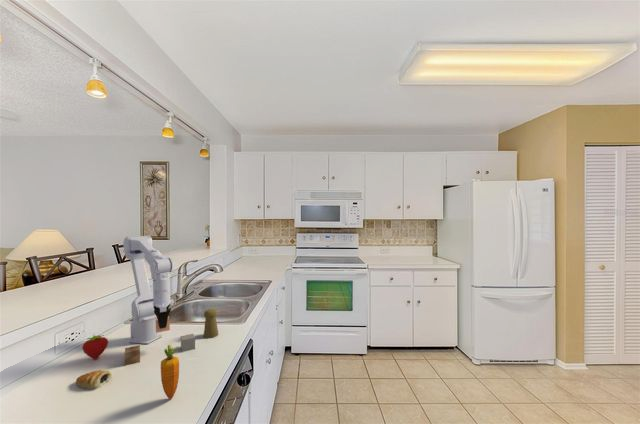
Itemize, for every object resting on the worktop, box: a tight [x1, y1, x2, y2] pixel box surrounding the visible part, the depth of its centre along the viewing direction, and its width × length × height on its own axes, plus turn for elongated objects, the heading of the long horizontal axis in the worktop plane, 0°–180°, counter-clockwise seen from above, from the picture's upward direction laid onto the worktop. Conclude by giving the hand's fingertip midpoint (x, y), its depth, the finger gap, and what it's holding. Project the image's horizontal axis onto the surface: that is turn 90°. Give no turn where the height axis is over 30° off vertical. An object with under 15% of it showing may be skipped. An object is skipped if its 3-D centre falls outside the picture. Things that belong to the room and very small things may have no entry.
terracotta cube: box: [155, 315, 171, 334], centre depth 113 cm, size 4×4×4 cm
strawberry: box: [82, 333, 109, 360], centre depth 107 cm, size 6×8×10 cm
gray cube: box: [180, 333, 196, 353], centre depth 114 cm, size 4×4×4 cm
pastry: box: [75, 369, 113, 390], centre depth 92 cm, size 9×7×4 cm
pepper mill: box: [203, 308, 219, 339], centre depth 126 cm, size 6×6×11 cm
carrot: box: [160, 344, 180, 400], centre depth 83 cm, size 5×5×15 cm
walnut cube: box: [124, 344, 141, 367], centre depth 105 cm, size 4×4×4 cm
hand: (162, 325), depth 113 cm, fingers closed on terracotta cube, 4 cm apart
